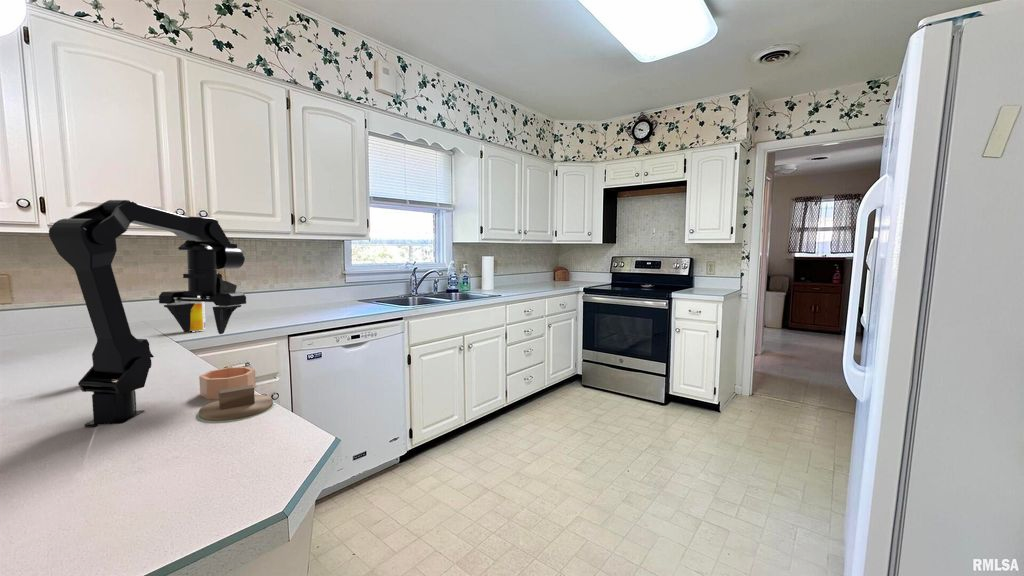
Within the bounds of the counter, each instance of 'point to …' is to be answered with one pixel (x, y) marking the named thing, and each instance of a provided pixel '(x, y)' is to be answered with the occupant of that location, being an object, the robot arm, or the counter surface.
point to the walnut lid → (235, 404)
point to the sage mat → (236, 419)
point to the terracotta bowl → (225, 380)
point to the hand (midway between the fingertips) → (204, 333)
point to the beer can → (197, 316)
